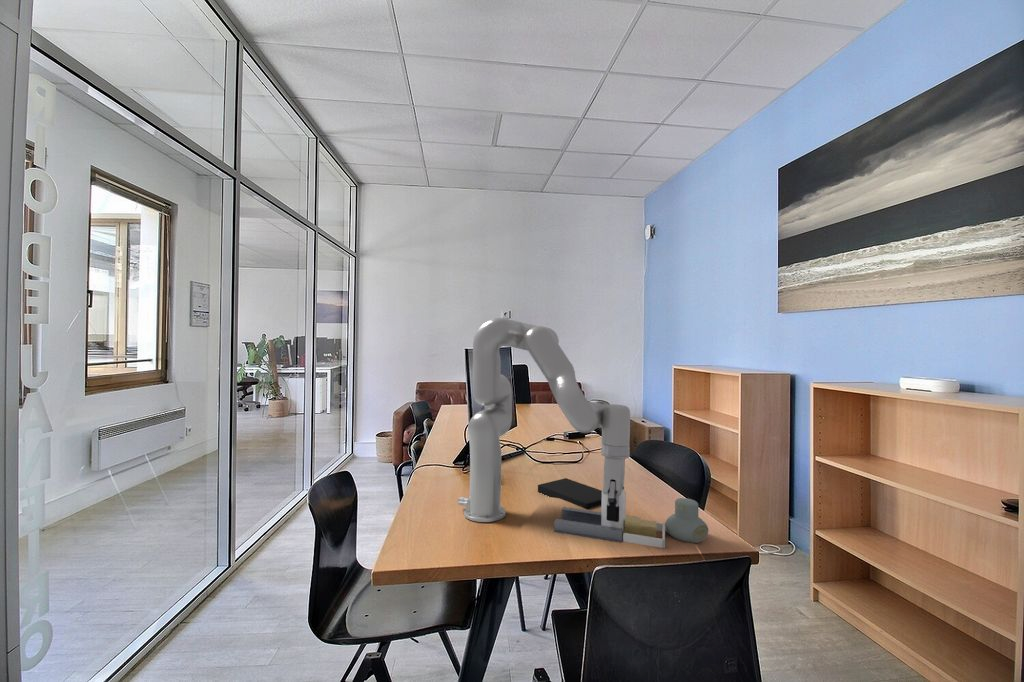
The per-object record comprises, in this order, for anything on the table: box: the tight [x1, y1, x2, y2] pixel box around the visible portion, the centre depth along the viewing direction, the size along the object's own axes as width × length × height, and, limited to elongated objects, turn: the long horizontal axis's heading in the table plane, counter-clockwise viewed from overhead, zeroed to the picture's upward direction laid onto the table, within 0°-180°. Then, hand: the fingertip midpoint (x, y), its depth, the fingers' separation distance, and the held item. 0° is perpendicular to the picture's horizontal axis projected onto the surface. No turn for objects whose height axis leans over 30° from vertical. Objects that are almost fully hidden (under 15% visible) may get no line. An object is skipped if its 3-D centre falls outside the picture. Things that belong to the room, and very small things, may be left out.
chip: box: [640, 519, 657, 538], centre depth 114 cm, size 4×4×4 cm
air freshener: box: [664, 497, 709, 544], centre depth 116 cm, size 11×8×10 cm
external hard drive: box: [537, 477, 603, 510], centre depth 147 cm, size 14×23×3 cm, turn 38°
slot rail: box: [553, 506, 623, 544], centre depth 119 cm, size 18×13×4 cm
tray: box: [622, 521, 666, 549], centre depth 115 cm, size 10×11×3 cm
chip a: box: [624, 515, 642, 535], centre depth 116 cm, size 4×4×4 cm
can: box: [600, 485, 627, 533], centre depth 118 cm, size 6×6×12 cm
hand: (614, 515), depth 117 cm, fingers closed on can, 6 cm apart
